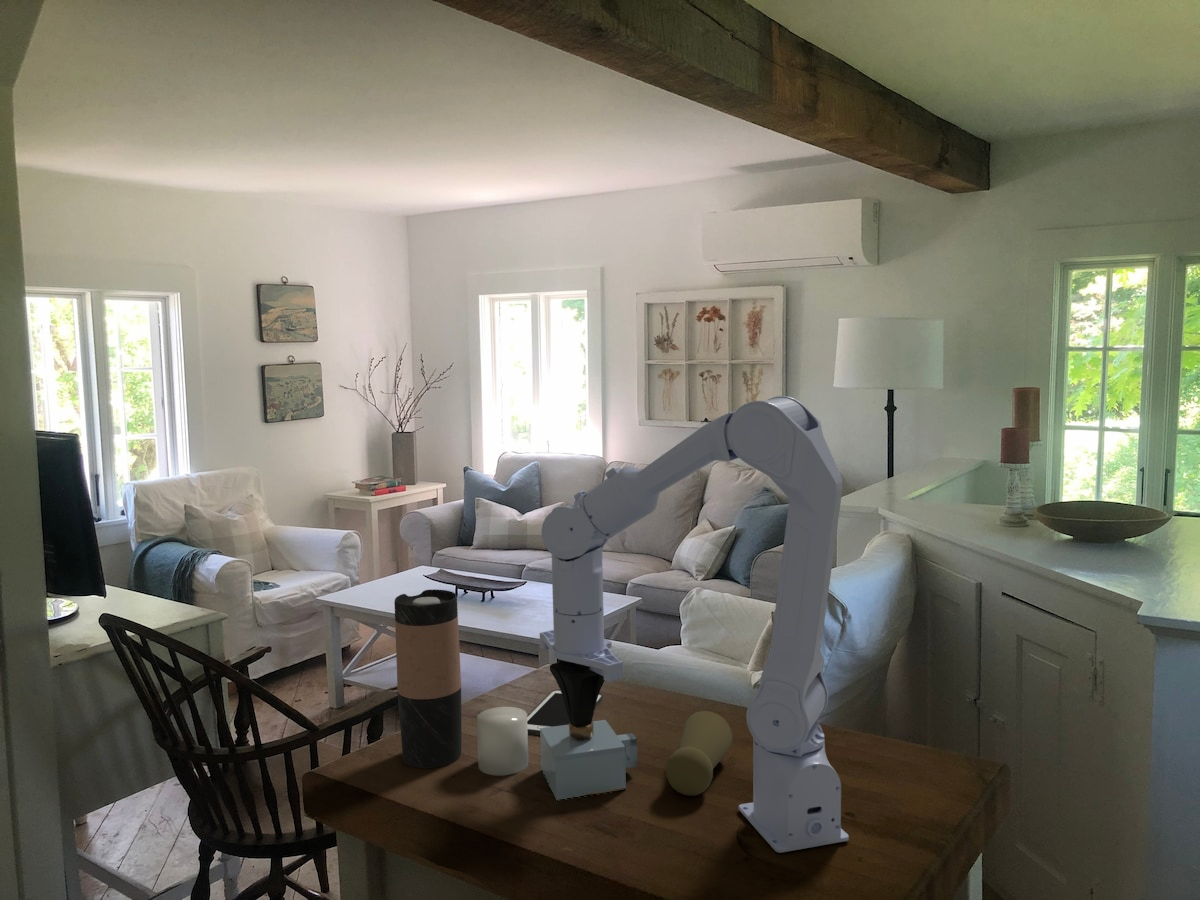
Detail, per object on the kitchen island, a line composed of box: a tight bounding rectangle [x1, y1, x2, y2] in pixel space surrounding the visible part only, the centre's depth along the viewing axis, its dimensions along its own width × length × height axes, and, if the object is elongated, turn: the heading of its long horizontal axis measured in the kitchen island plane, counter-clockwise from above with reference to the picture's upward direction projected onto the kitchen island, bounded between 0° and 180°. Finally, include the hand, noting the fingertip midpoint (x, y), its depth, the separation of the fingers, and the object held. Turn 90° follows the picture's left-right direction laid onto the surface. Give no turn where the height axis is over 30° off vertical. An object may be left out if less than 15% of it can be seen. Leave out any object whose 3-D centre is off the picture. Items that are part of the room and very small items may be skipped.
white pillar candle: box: [476, 706, 529, 777], centre depth 112 cm, size 6×6×6 cm
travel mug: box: [394, 589, 462, 769], centre depth 113 cm, size 8×8×20 cm
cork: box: [665, 710, 733, 797], centre depth 107 cm, size 6×6×11 cm
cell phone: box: [527, 688, 604, 736], centre depth 127 cm, size 8×15×1 cm, turn 162°
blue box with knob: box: [539, 719, 638, 802], centre depth 107 cm, size 8×10×5 cm
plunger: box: [569, 722, 594, 740], centre depth 107 cm, size 3×3×6 cm
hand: (580, 724), depth 107 cm, fingers closed, pressing on plunger
